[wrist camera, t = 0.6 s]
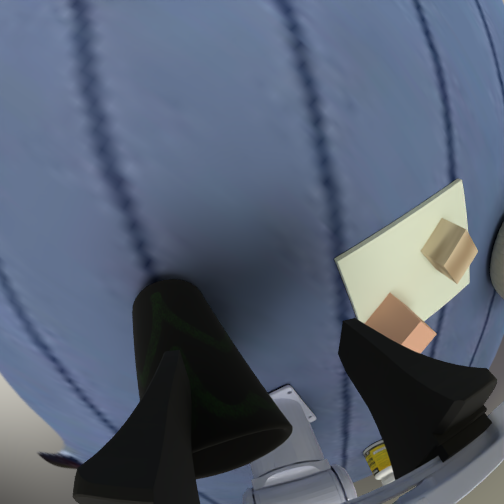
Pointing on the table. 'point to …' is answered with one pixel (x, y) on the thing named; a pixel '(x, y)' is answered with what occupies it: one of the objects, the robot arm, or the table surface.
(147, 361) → the cup
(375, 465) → the supplement bottle
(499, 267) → the canister
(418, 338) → the terracotta brick
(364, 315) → the plate
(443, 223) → the beech brick
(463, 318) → the table surface
